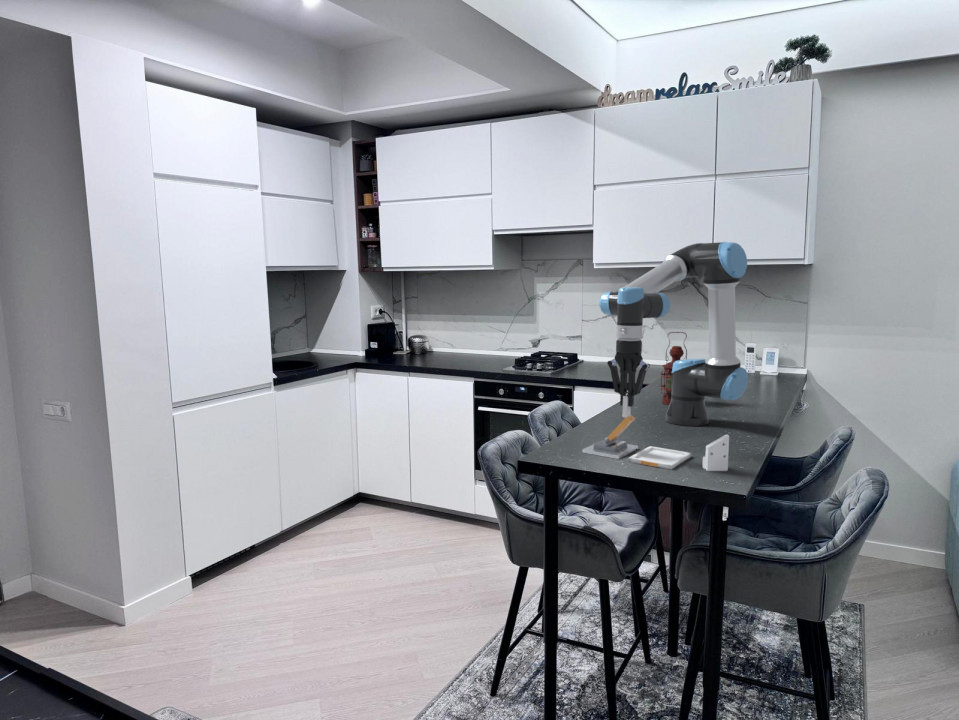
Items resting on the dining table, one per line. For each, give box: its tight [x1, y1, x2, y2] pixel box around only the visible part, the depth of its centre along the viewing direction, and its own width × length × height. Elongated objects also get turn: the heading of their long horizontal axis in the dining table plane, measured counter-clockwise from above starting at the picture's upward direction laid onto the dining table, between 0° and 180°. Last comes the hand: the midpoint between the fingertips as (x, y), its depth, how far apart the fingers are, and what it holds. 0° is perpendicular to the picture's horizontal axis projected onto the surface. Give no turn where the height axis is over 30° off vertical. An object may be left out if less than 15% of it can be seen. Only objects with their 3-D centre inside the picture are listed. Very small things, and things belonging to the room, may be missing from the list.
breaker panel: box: [582, 438, 639, 460], centre depth 206 cm, size 14×12×2 cm
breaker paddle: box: [603, 415, 636, 444], centre depth 204 cm, size 5×2×11 cm
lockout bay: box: [627, 445, 692, 470], centre depth 197 cm, size 16×13×1 cm
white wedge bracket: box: [702, 434, 730, 472], centre depth 187 cm, size 4×10×9 cm, turn 92°
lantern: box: [659, 331, 688, 406], centre depth 276 cm, size 12×12×30 cm
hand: (626, 416), depth 202 cm, fingers closed
